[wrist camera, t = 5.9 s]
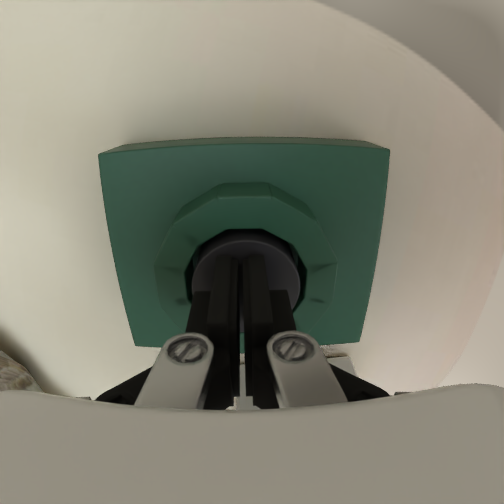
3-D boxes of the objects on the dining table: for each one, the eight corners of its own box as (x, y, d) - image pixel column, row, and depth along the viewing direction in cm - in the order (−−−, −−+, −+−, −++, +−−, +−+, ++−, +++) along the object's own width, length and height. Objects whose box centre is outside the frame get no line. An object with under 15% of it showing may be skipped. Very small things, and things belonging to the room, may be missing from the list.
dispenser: (365, 141, 15) (413, 157, 10) (345, 310, 19) (370, 368, 14) (122, 144, 14) (74, 163, 10) (147, 314, 19) (125, 372, 14)
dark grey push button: (295, 219, 13) (304, 239, 11) (290, 303, 14) (296, 331, 13) (194, 221, 13) (186, 241, 11) (202, 304, 14) (197, 333, 13)
